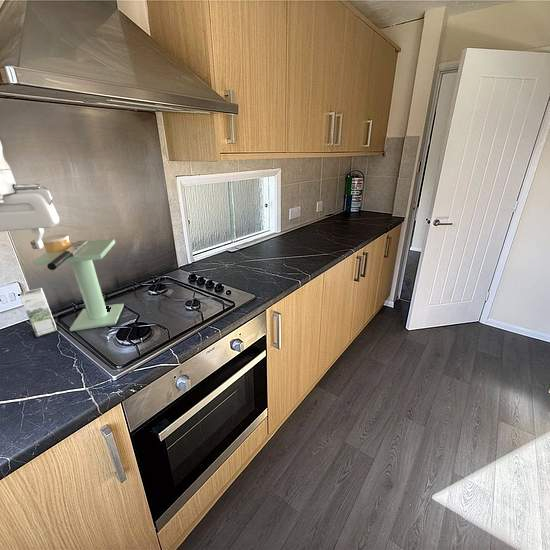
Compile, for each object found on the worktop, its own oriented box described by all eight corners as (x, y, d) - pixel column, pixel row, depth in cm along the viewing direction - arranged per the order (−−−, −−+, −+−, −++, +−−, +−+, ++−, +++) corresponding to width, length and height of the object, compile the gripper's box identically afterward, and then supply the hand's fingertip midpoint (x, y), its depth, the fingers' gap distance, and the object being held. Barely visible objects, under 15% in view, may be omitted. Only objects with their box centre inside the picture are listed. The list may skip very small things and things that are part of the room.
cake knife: (59, 269, 78) (56, 262, 78) (46, 270, 78) (43, 263, 77) (88, 243, 101) (86, 237, 100) (78, 244, 100) (76, 238, 99)
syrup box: (55, 324, 102) (41, 286, 96) (57, 331, 98) (42, 292, 92) (35, 330, 99) (19, 291, 93) (36, 337, 95) (19, 298, 89)
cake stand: (120, 326, 99) (97, 241, 88) (59, 336, 95) (25, 248, 83) (130, 302, 115) (111, 227, 104) (78, 309, 111) (52, 232, 99)
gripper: (52, 181, 65) (71, 241, 70) (-61, 186, 60) (-31, 250, 66) (39, 184, 59) (61, 249, 65) (-87, 190, 54) (-52, 260, 60)
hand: (14, 250), depth 65 cm, fingers open, 8 cm apart
